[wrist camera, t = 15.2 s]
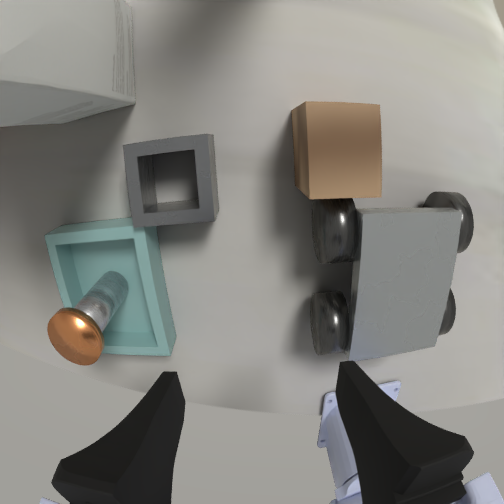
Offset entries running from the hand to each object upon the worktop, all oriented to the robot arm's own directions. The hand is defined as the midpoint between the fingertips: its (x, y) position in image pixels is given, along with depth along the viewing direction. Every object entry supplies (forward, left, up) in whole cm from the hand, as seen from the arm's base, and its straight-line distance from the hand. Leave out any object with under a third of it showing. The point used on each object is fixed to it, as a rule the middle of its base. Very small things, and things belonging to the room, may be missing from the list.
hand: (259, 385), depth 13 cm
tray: (0, +11, -10) cm, 15 cm away
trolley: (+1, -9, -10) cm, 14 cm away
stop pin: (0, +11, -10) cm, 14 cm away
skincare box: (+17, +10, -11) cm, 22 cm away
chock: (+9, -5, -10) cm, 15 cm away
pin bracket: (+8, +5, -10) cm, 14 cm away
